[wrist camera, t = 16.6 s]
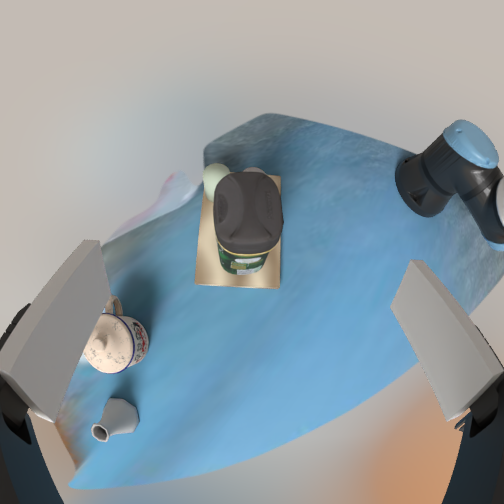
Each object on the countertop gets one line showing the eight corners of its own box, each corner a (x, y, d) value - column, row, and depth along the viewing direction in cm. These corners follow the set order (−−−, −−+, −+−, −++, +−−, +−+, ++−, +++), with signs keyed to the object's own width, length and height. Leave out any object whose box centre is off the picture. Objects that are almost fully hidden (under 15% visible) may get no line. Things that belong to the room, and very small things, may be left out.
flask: (106, 391, 39) (80, 404, 29) (142, 404, 39) (122, 422, 30) (103, 424, 37) (79, 441, 28) (138, 437, 37) (120, 459, 28)
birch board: (279, 179, 52) (280, 176, 50) (278, 289, 47) (279, 287, 45) (206, 174, 51) (206, 170, 49) (195, 284, 46) (194, 283, 44)
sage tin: (234, 190, 49) (235, 172, 43) (219, 207, 48) (218, 190, 42) (215, 178, 49) (214, 159, 44) (200, 194, 48) (197, 176, 42)
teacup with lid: (153, 366, 41) (130, 379, 30) (106, 364, 40) (74, 374, 29) (148, 297, 44) (124, 289, 33) (102, 298, 43) (69, 291, 32)
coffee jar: (216, 222, 47) (210, 164, 29) (261, 220, 48) (280, 162, 30) (218, 277, 45) (212, 248, 27) (266, 275, 46) (291, 244, 28)
